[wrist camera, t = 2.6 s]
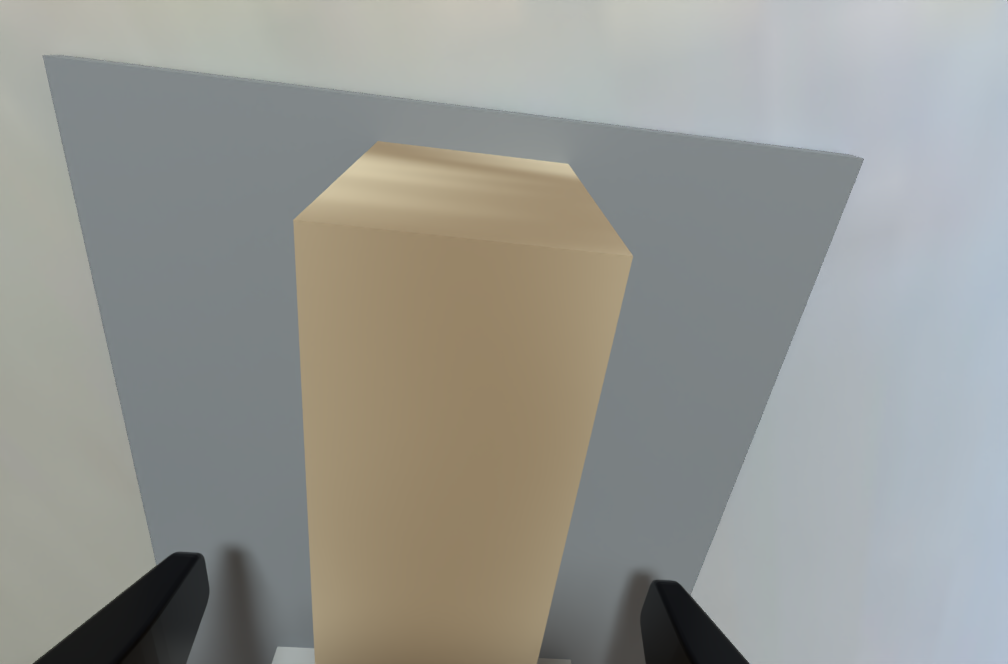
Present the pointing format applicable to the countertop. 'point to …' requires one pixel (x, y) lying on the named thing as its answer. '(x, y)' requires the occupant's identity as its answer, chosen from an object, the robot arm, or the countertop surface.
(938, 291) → the countertop surface
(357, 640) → the turner
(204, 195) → the mat
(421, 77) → the countertop surface
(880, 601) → the countertop surface
